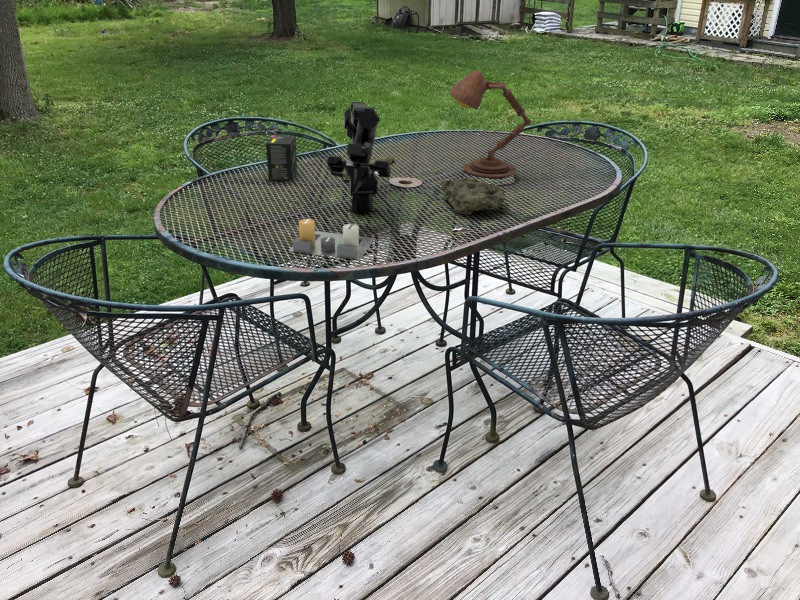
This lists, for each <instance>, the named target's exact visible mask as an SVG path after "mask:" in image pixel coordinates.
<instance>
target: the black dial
mask: <svg viewBox="0 0 800 600" xmlns="http://www.w3.org/2000/svg"><path fill="white" fill-rule="evenodd" d="M321 251H323V252H333V251H335V239H334V238H332V237H324V238H322V239H321Z"/></svg>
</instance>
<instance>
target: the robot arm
mask: <svg viewBox="0 0 800 600" xmlns="http://www.w3.org/2000/svg"><path fill="white" fill-rule="evenodd" d="M379 122H381V120H380V116H379V114H378V113H377V110H375V107H373V106H371V107H369V106H368V107H367V106H366V102H364V101H352V102H350V103H349V107H348V109H346V110H345V112H344V113H343V129H345V132H346V137H348V138H349V139H350V140H351V142H347V148H346V155H347V156H348V157H347V158H348V159H347V160H343V158H342V156H341V155H328V157H327V159H326V164H327V167H328V169H329V171H330V172H331V173H332V172H337V173H341V172H343V171H344V168H345V170H346V172H347V175H348V176H350V180H349V183H348V189H349V195H350V196H351V197H352V198H351V207H350V208H348V209H349V211H350V212H353V213H356V214H358V215H360V216H365V215H367V214H370V213H373V212H375V211H374V209H375V210H376V208H374V207H373V196H376V195H377V193H378V185H379V180H378V179H377V176H375V174H374V171H375V172H377V175H378V177H381V178H390V177H391V173H392V169H391V166H390V164H389V162H388V161H385V160H376V161H375V164H369V163H370V161H371V158H372V157H373V148H374V143H375V139H376V133H377V130H378V129H377V128H378V124H379ZM372 211H373V212H372ZM376 211H377V210H376Z"/></svg>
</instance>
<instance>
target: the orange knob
mask: <svg viewBox="0 0 800 600" xmlns="http://www.w3.org/2000/svg"><path fill="white" fill-rule="evenodd" d="M315 223H316V222H315V220H314V219H311V218H304V219H300V220H299V221H298V230H299V231H298V233H299V234H298V235H299V239H301V240H309V241H313V247H314V246H315V231H316V226H315V225H316V224H315Z"/></svg>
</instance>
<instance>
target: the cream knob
mask: <svg viewBox="0 0 800 600" xmlns="http://www.w3.org/2000/svg"><path fill="white" fill-rule="evenodd" d="M342 234H343V245H351V246H357V252H358V251H359V236H360V235H359V234H360V227H359V225H358V224H354V223H347V224H344V225H343V226H342Z"/></svg>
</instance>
